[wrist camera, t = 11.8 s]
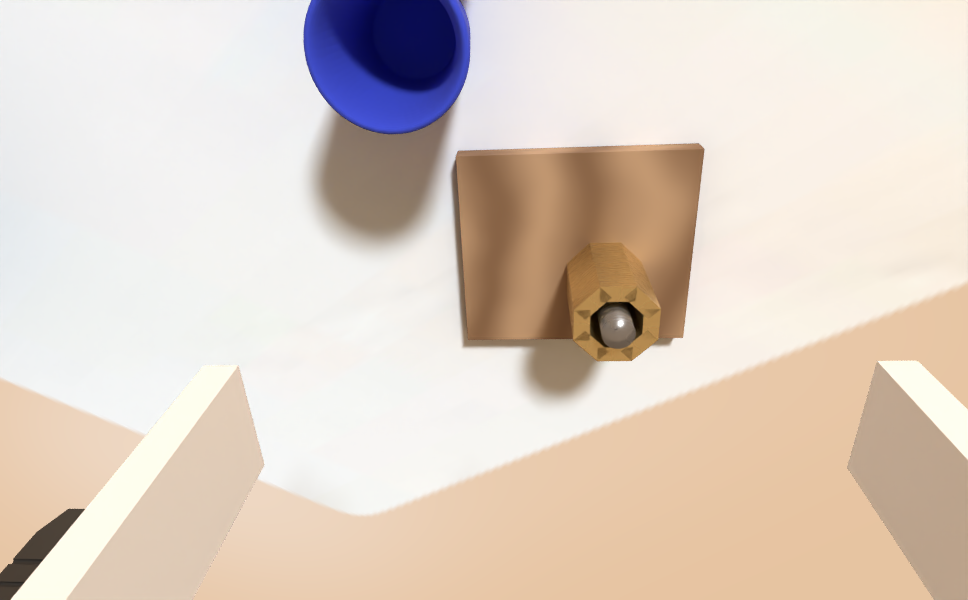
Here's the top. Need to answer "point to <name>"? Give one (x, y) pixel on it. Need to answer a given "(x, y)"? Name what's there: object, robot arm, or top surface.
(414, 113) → the mug
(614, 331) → the post
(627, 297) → the bushing
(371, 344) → the top surface
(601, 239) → the board
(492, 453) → the top surface
